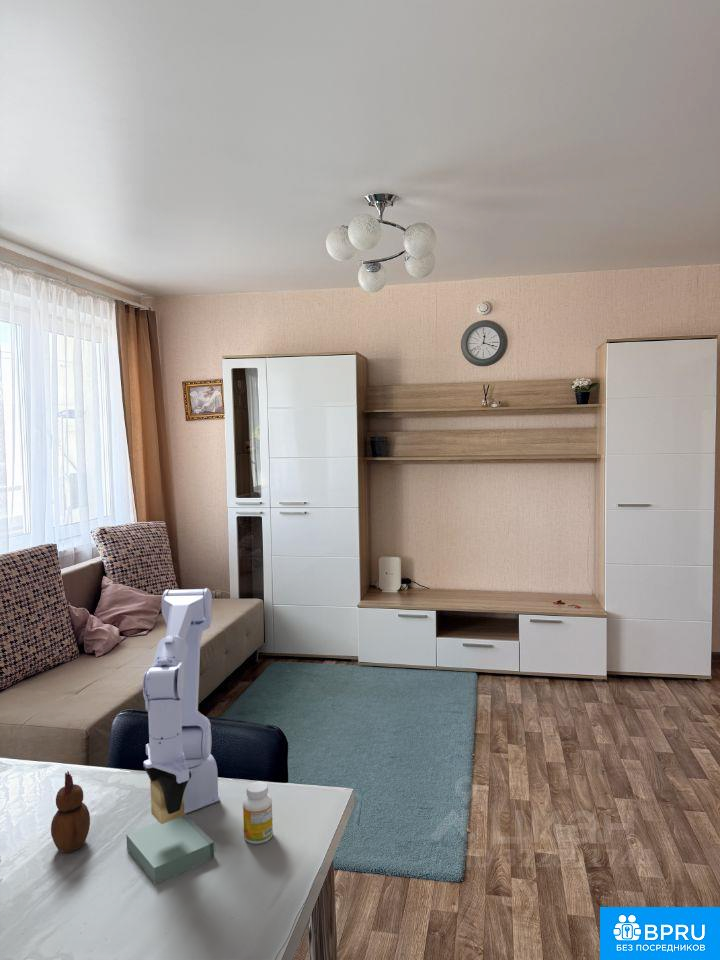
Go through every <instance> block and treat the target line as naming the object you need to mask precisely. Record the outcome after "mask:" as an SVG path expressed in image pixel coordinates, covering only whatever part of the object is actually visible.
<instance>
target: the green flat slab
mask: <svg viewBox="0 0 720 960" xmlns="http://www.w3.org/2000/svg"><path fill="white" fill-rule="evenodd" d="M125 837H126V849H128V850H129V851H128V850H127V851H128V852H129V853H130V855H131V854H132V855H131V856H132V858H134V860H135V861H136V862H137V863H138V865H139V866H140V867H141V869H142V870H143V871H144V872H145V874H147V876H148V877H149V878H150V879H151V880H152V882H153V883H154V884H158V883H160V882H163V881H165V880H167V879H169V878H171V877H174V876H177V875H178V874H181V873H183V872H185V871H187V870H189V869H192V868H195V867H197V866H199V865H201V864H204V863H205V862H208V861H211V860H212V859H215V842H214V841H213V839H211V838H210V837H209V835H207V834H206V833H205V832H204V831H203V830H202V829H201V828H200V827H199V826H198V825H197V824H196V823H194V821H193V820H192V819H191V818H189V816H188V815H186V814H185V815H184V816H182V817H179V818H177V819H174V820H172V821H169V822H166V823H164V824H160V823H159V821H157V822H155V823H152V824H149V825H146V826H145V827H142V828H140V829H136V830H134V831H132V832H129V833H127V834H126V835H125Z"/></svg>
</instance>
